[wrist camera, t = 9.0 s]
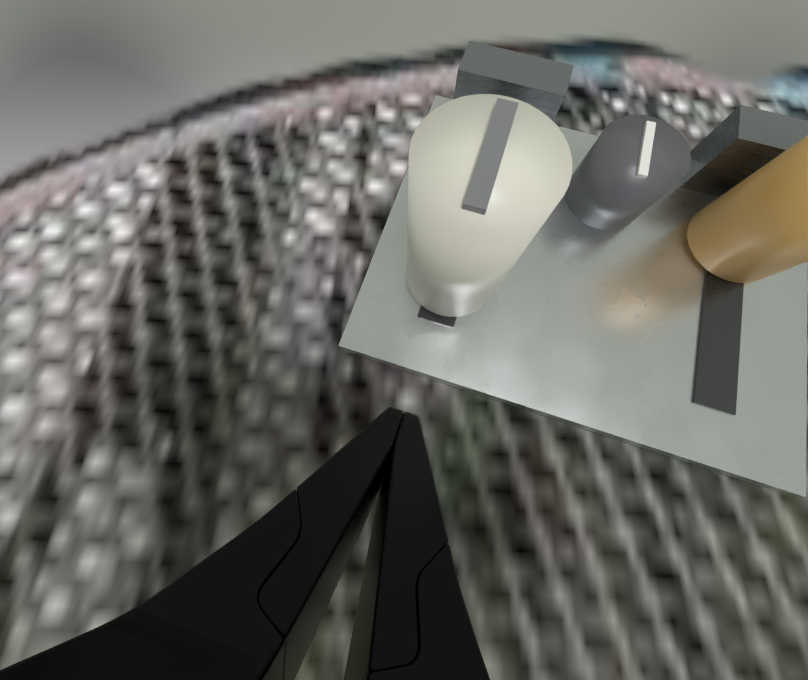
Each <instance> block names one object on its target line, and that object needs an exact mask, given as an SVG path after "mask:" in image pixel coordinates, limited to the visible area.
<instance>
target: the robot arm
mask: <svg viewBox="0 0 808 680" xmlns="http://www.w3.org/2000/svg"><path fill="white" fill-rule="evenodd" d="M402 416H403V417H402ZM401 419H402V420H401ZM387 464H388V465H387ZM386 467H387V468H386ZM383 477H384V478H383ZM382 480H383V481H382ZM381 483H382V484H381ZM380 486H381V488H380ZM379 489H380V491H379ZM378 492H379V496H378V500H377V506H376V511H375V516H374V522H373V527H372V532H371V537H370V543H369V548H368V553H367V559H366V564H365V569H364V575H363V580H362V585H361V590H360V596H359V601H358V606H357V612H356V617H355V622H354V628H353V633H352V638H351V643H350V649H349V654H348V659H347V665H346V670H345V675H344V680H490V678H489V675H488V672H487V670H486V667H485V664H484V661H483V658H482V655H481V652H480V649H479V646H478V643H477V640H476V637H475V634H474V631H473V628H472V625H471V622H470V619H469V615H468V612H467V609H466V606H465V603H464V600H463V596H462V593H461V589H460V585H459V582H458V578H457V574H456V570H455V566H454V562H453V558H452V554H451V550H450V546H449V545H448V544H447V543H448V538H447V533H446V529H445V525H444V521H443V516H442V512H441V508H440V504H439V499H438V495H437V491H436V487H435V482H434V478H433V474H432V470H431V465H430V461H429V457H428V453H427V448H426V444H425V440H424V436H423V431H422V427H421V423H420V419H419V417H418V416H417V415H415V414H412V413H409V412H404V414H403V411H402V410H400V409H396V408H393V407H388V408H387V409H386V410H385V411H384V412H383V413H381V414H380V415H379V416H378V417H377V418H376V419H375V420H373V421H372V422H371V423H370V424H369V425H368V426H367V427H365V428H364V429H363V430H362V431H361V432H360V433H359V434H358V435H356V436H355V437H354V438H353V439H352V440H351V441H350V442H348V443H347V444H346V445H345V446H344V447H343V448H342V449H340V450H339V451H338V452H337V453H336V454H335V455H334V456H332V457H331V458H330V459H329V460H328V461H327V462H326V463H325V464H323V465H322V466H321V467H320V468H319V469H318V470H317V471H315V472H314V473H313V474H312V475H311V476H310V477H309V478H307V479H306V480H305V481H304V482H303V483H302V484H301V485H299V486H298V487H297V490H294V491H292V492H291V493H290V494H289V495H288V496H287V497H286V498H284V499H283V500H282V501H281V502H280V503H279V504H277V505H276V506H275V507H274V508H273V509H271V510H270V511H269V512H268V513H267V514H265V515H264V516H263V517H262V518H261V519H259V520H258V521H257V522H255V523H254V524H253V525H251V526H250V527H249V528H247V529H246V530H245V531H243V532H242V533H241V534H239V535H238V536H237V537H235V538H234V539H233V540H231V541H230V542H228V543H227V544H226V545H224V546H223V547H221V548H220V549H219V550H217V551H216V552H214V553H213V554H212V555H210V556H209V557H207V558H206V559H205V560H203V561H202V562H200V563H199V564H198V565H196V566H195V567H193V568H192V569H190V570H189V571H188V572H186V573H185V574H183V575H182V576H181V577H179V578H178V579H176V580H175V581H174V582H172V583H171V584H169V585H168V586H167V587H165V588H164V589H162V590H161V591H159V592H158V593H157V594H155V595H154V596H152V597H151V598H149V599H148V600H146V601H145V602H143V603H141V604H140V605H138V606H137V607H135V608H133V609H132V610H130V611H128V612H126V613H125V614H123V615H121V616H119V617H117V618H115V619H114V620H112V621H110V622H108V623H106V624H104V625H101V626H99V627H97V628H95V629H93V630H91V631H88V632H86V633H84V634H81V635H79V636H77V637H75V638H72V639H70V640H68V641H66V642H63V643H61V644H59V645H56V646H54V647H52V648H50V649H47V650H45V651H43V652H41V653H38V654H36V655H34V656H32V657H29V658H27V659H25V660H22V661H20V662H18V663H16V664H13V665H11V666H9V667H7V668H4V669H2V670H0V680H294V679H295V677H296V674H297V672H298V670H299V668H300V666H301V663H302V661H303V659H304V657H305V654H306V652H307V650H308V648H309V646H310V643H311V641H312V639H313V637H314V634H315V632H316V630H317V628H318V626H319V623H320V621H321V619H322V617H323V615H324V612H325V610H326V608H327V606H328V603H329V601H330V599H331V597H332V595H333V592H334V590H335V588H336V586H337V583H338V581H339V579H340V577H341V575H342V572H343V570H344V568H345V566H346V563H347V561H348V559H349V557H350V555H351V552H352V550H353V548H354V546H355V543H356V541H357V539H358V537H359V535H360V532H361V530H362V528H363V526H364V523H365V521H366V519H367V517H368V515H369V512H370V510H371V508H372V506H373V504H374V501H375V499H376V497H377V494H378Z"/></svg>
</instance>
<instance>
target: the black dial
mask: <svg viewBox="0 0 808 680" xmlns="http://www.w3.org/2000/svg"><path fill="white" fill-rule="evenodd" d="M690 165H691V152H690V149H689V146H688V144H687V142H686V141H685V139H684V138H683V136H682V135H681V134H680V133H679V132H678V131H677V130H676V129H675V128H674V127H672V126H671V125H669V124H668V123H666V122H664V121H662V120H660V119H657V118H654V117H651V116H646V115H627V116H623V117H620V118H617V119H615V120H614V121H612V122H611V123H609V124H608V125H607V126H606V127H605V129H604V130H603V131H602V133H601V134H600V136H599V137H598V139H597V140H596V142H595V143H594V144H593V146H592V147H591V149H590V150H589V152H588V153H587V154H586V156H585V157H584V159H583V160H582V162H581V163H580V165H579V166H578V167H577V169H576V170H575V172H574V173H573V175H572V176H571V180H570V184H569V187H568V189H567V191H566V193H565V198H566V202H567V205H568V207H569V209H570V210H571V212H572V213H573V214H574V215H575V216H576V217H577V218H578V219H579V220H580V221H582V222H583V223H585V224H586V225H588V226H591V227H593V228H596V229H601V230H616V229H620V228H623V227H625V226H627V225H629V224H630V223H631V222H633V221H634V220H635V219H636V218H637V217H639V216H640V215H641V214H642V213H643V212H644V211H646V210H647V209H648V208H649V207H650V206H651V205H653V204H654V203H655V202H656V201H657V200H658V199H660V198H661V197H662V196H663V195H664V194H665V193H667V192H668V191H669V190H670V189H671V188H672V187H674V186H675V185H676V184H677V183H678V182H679V181H681V180H682V179H683V178H684V177H685V175H686V174H687V172H688V171H689V168H690Z"/></svg>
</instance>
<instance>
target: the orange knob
mask: <svg viewBox="0 0 808 680" xmlns="http://www.w3.org/2000/svg"><path fill="white" fill-rule="evenodd" d="M687 239H688V244H689V247H690V249H691V251H692V253H693V255H694V257H695V258H696V259H697V261H698V262H699V263H700V264H701V265H702V266H703V267H704V268H705V269H706V270H708V271H709V272H711V273H712V274H714V275H716V276H717V277H720V278H722V279H724V280H727V281H731V282H736V283H751V282H755V281H758V280H761V279H764V278H766V277H769V276H771V275H774V274H777V273H779V272H782V271H784V270H787V269H789V268H792V267H795V266H797V265H800V264H802V263H805V262H808V135H807V136H806V137H804V138H803V139H802V140H800V141H799V142H797V143H796V144H794V145H793V146H792V147H790V148H789V149H787V150H786V151H784V152H783V153H782V154H780V155H779V156H777V157H776V158H774V159H773V160H772V161H770V162H769V163H767V164H766V165H764V166H763V167H762V168H760V169H759V170H757V171H756V172H754V173H753V174H752V175H750V176H749V177H747V178H746V179H744V180H743V181H742V182H740V183H739V184H737V185H736V186H734V187H733V188H732V189H730V190H729V191H727V192H726V193H724V194H723V195H722V196H720V197H719V198H717V199H716V200H714V201H713V202H712V203H710V204H709V205H707V206H706V207H704V208H703V209H702V210H700V211H699V212H697V213H696V214H695V215H694V216H693V218H692V219H691V221H690V223H689V225H688V230H687Z"/></svg>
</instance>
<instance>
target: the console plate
mask: <svg viewBox="0 0 808 680" xmlns="http://www.w3.org/2000/svg"><path fill="white" fill-rule="evenodd" d="M572 69H573V65H570V64H566V63H562V62H557V61H553V60H549V59H545V58H540V57H536V56H532V55H528V54H524V53H519V52H515V51H511V50H507V49H502V48H498V47H494V46H490V45H486V44H481V43H477V42H473V41H469V42H468V45H467V48H466V50H465V53H464V56H463V58H462V61H461V64H460V66H459V69H458V74H457V80H456V87H455V93H454V99H456V98H459V97H463V96H468V95H475V94H495V95H502V96H507V97H511V98H515V99H518V100H521V101H523V102H525V103H528V104H530V105H531V106H533V107H535V108H537V109H538V110H540V111H541V112H543V113H544V114H545V115H547V116H548V117H549V118H550V119H551V120H552V121H553V120H554V118H555V116H556V114H557V112H558V110H559V108H560V106H561V104H562V102H563V100H564V98H565V96H566V93H567V89H568V85H569V81H570V77H571V73H572ZM450 100H453V99H449V98H445V97H441V96H437V95H436V96H435V99H434V101H433V104H432V106H431V109H430V112H432V111H433V110H434V109H436V108H437V107H439V106H440V105H442V104H444V103H446V102H448V101H450ZM430 112H429V113H430ZM558 128H559V129H560V130H561V132H562V133H563V135H564V137H565V139H566V141H567V143H568V145H569V148H570V151H571V156H572V175H573V173H574V172H575V170H576V169H577V167H578V166H579V165H580V163H581V162H582V160H583V159H584V157H585V156H586V154H587V153H588V152H589V150H590V149H591V147H592V146H593V144H594V143H595V142H596V140H597V139H598V137H599V136H595V135H591V134H587V133H583V132H579V131H575V130H571V129H567V128H563V127H559V126H558ZM807 135H808V121H806V120H802V119H798V118H794V117H790V116H785V115H781V114H777V113H773V112H768V111H764V110H760V109H756V108H752V107H747V106H743V105H740V106H739V107H738V108H737V109H736V110H735V111H734V112H733V113H732V114H730V115H729V116H728V117H727V118H726V119H725V120H724V121H723V122H722V123H721V124H720V125H719V126H718V127H716V128H715V129H714V130H713V131H712V132H711V133H710V134H709V135H708V136H707V137H706V138H705V139H704V140H702V141H701V142H700V143H699V144H698V145H697V146H696V147H695V148H694V149H693V150H692V151H691V165H690V168H689V171H688V172H687V174H686V175H685V177H684V178H683V179H682V180H681V181H679V182H678V183H677V184H676V185H675V186H674V187H672V188H671V189H670V190H669V191H668V192H667V193H665V194H664V195H663V196H662V197H661V198H660V199H658V200H657V201H656V202H655V203H654V204H653V205H651V206H650V207H649V208H648V209H647V210H646V211H644V212H643V213H642V214H641V215H640V216H639V217H637V218H636V219H635V220H634V221H633V222H631V223H630V224H629V225H627V226H625V227H623V228H620V229H616V230H601V229H596V228H593V227H591V226H588V225H586V224H585V223H583V222H582V221H580V220H579V219H578V218H577V217H576V216H575V215H574V214H573V213H572V212H571V210H570V209H569V207H568V205H567V202H566V198H565V195H564V196H563V198H562V199H561V200H560V202H559V203H558V205H557V206H556V207H555V209H554V210H553V211H552V213H551V214H550V216H549V217H548V218H547V220H546V221H545V223H544V224H543V225H542V227H541V228H540V229H539V231H538V232H537V234H536V235H535V236H534V238H533V239H532V241H531V242H530V243H529V245H528V246H527V248H526V249H525V250H524V252H523V253H522V254H521V256H520V257H519V259H518V260H517V261H516V263H515V264H514V266H513V267H512V268H511V270H510V271H509V273H508V274H507V275H506V277H505V278H504V279H503V281H502V282H501V284H500V285H499V286H498V288H497V289H496V291H495V292H494V293H493V295H492V296H491V298H490V299H489V300H488V302H487V303H486V304H485V305H484V306H483V307H481V308H480V309H479V310H477V311H475V312H473V313H471V314H468V315H465V316H459V317H447V316H442V315H438V314H435V313H433V312H431V311H429V310H427V309H426V308H424V307H423V306H422V305H421V304H420V303H418V301H417V300H416V299H415V298H414V296H413V295H412V293H411V291H410V289H409V286H408V283H407V224H408V173H409V165H408V168H407V171H406V173H405V176H404V178H403V181H402V183H401V186H400V189H399V191H398V194H397V196H396V199H395V201H394V204H393V207H392V209H391V212H390V214H389V217H388V219H387V222H386V225H385V227H384V230H383V232H382V235H381V237H380V240H379V243H378V245H377V248H376V250H375V253H374V255H373V258H372V260H371V263H370V266H369V268H368V271H367V273H366V276H365V278H364V281H363V284H362V286H361V289H360V291H359V294H358V296H357V299H356V302H355V304H354V307H353V309H352V312H351V314H350V317H349V320H348V322H347V325H346V327H345V330H344V332H343V335H342V338H341V340H340V343H339V345H338V346H339V347H340V348H341V349H342V350H343V351H345V352H348V353H351V354H354V355H357V356H360V357H363V358H366V359H370V360H373V361H376V362H379V363H382V364H385V365H388V366H391V367H394V368H397V369H400V370H403V371H406V372H409V373H413V374H416V375H419V376H422V377H425V378H428V379H431V380H434V381H437V382H440V383H443V384H446V385H449V386H453V387H456V388H459V389H462V390H465V391H468V392H471V393H474V394H477V395H480V396H483V397H486V398H489V399H493V400H496V401H499V402H502V403H505V404H508V405H511V406H514V407H517V408H520V409H523V410H526V411H529V412H532V413H536V414H539V415H542V416H545V417H548V418H551V419H554V420H557V421H560V422H563V423H566V424H569V425H572V426H576V427H579V428H582V429H585V430H588V431H591V432H594V433H597V434H600V435H603V436H606V437H609V438H612V439H615V440H619V441H622V442H625V443H628V444H631V445H634V446H637V447H640V448H643V449H646V450H649V451H652V452H655V453H659V454H662V455H665V456H668V457H671V458H674V459H677V460H680V461H683V462H686V463H689V464H692V465H695V466H699V467H702V468H705V469H708V470H711V471H714V472H717V473H720V474H723V475H726V476H729V477H732V478H735V479H738V480H742V481H745V482H748V483H751V484H754V485H757V486H760V487H763V488H766V489H769V490H772V491H777V492H782V493H787V494H792V495H797V496H803V497H806V410H807V269H808V262H805V263H802V264H800V265H797V266H795V267H792V268H789V269H787V270H784V271H782V272H779V273H777V274H774V275H771V276H769V277H766V278H764V279H761V280H758V281H755V282H751V283H736V282H731V281H727V280H724V279H722V278H720V277H717V276H716V275H714V274H712V273H711V272H709V271H708V270H706V269H705V268H704V267H703V266H702V265H701V264H700V263H699V262H698V261H697V259H696V258H695V257H694V255H693V253H692V251H691V249H690V247H689V244H688V239H687V230H688V225H689V223H690V221H691V219H692V218H693V216H694V215H695V214H696V213H697V212H699V211H700V210H702V209H703V208H704V207H706V206H707V205H709V204H710V203H712V202H713V201H714V200H716V199H717V198H719V197H720V196H722V195H723V194H724V193H726V192H727V191H729V190H730V189H732V188H733V187H734V186H736V185H737V184H739V183H740V182H742V181H743V180H744V179H746V178H747V177H749V176H750V175H752V174H753V173H754V172H756V171H757V170H759V169H760V168H762V167H763V166H764V165H766V164H767V163H769V162H770V161H772V160H773V159H774V158H776V157H777V156H779V155H780V154H782V153H783V152H784V151H786V150H787V149H789V148H790V147H792V146H793V145H794V144H796V143H797V142H799V141H800V140H802V139H803V138H804V137H806V136H807Z"/></svg>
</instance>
